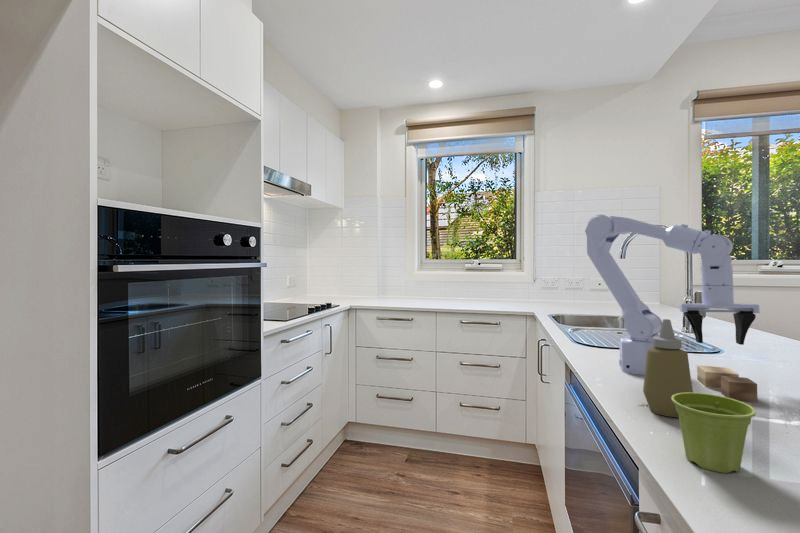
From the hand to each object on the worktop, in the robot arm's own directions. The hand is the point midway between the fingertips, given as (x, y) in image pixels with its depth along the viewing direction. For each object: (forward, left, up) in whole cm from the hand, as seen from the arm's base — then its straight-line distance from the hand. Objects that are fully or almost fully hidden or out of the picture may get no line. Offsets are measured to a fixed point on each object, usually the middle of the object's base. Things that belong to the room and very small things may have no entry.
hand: (719, 343), depth 90 cm
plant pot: (-14, -44, -10) cm, 47 cm away
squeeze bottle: (-15, -24, -10) cm, 30 cm away
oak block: (-1, -2, -9) cm, 10 cm away
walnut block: (0, -11, -10) cm, 15 cm away
